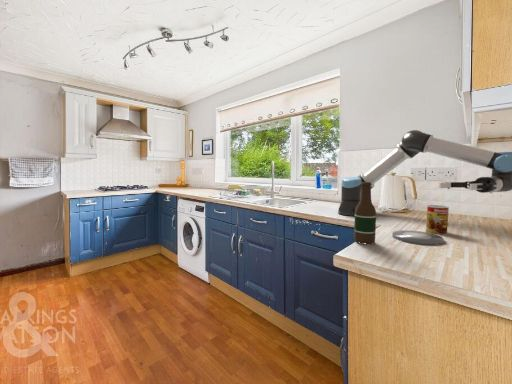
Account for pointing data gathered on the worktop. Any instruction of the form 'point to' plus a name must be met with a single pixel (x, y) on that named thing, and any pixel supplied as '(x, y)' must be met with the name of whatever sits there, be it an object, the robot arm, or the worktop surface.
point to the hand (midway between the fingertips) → (454, 186)
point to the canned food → (437, 219)
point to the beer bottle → (365, 217)
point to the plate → (418, 237)
